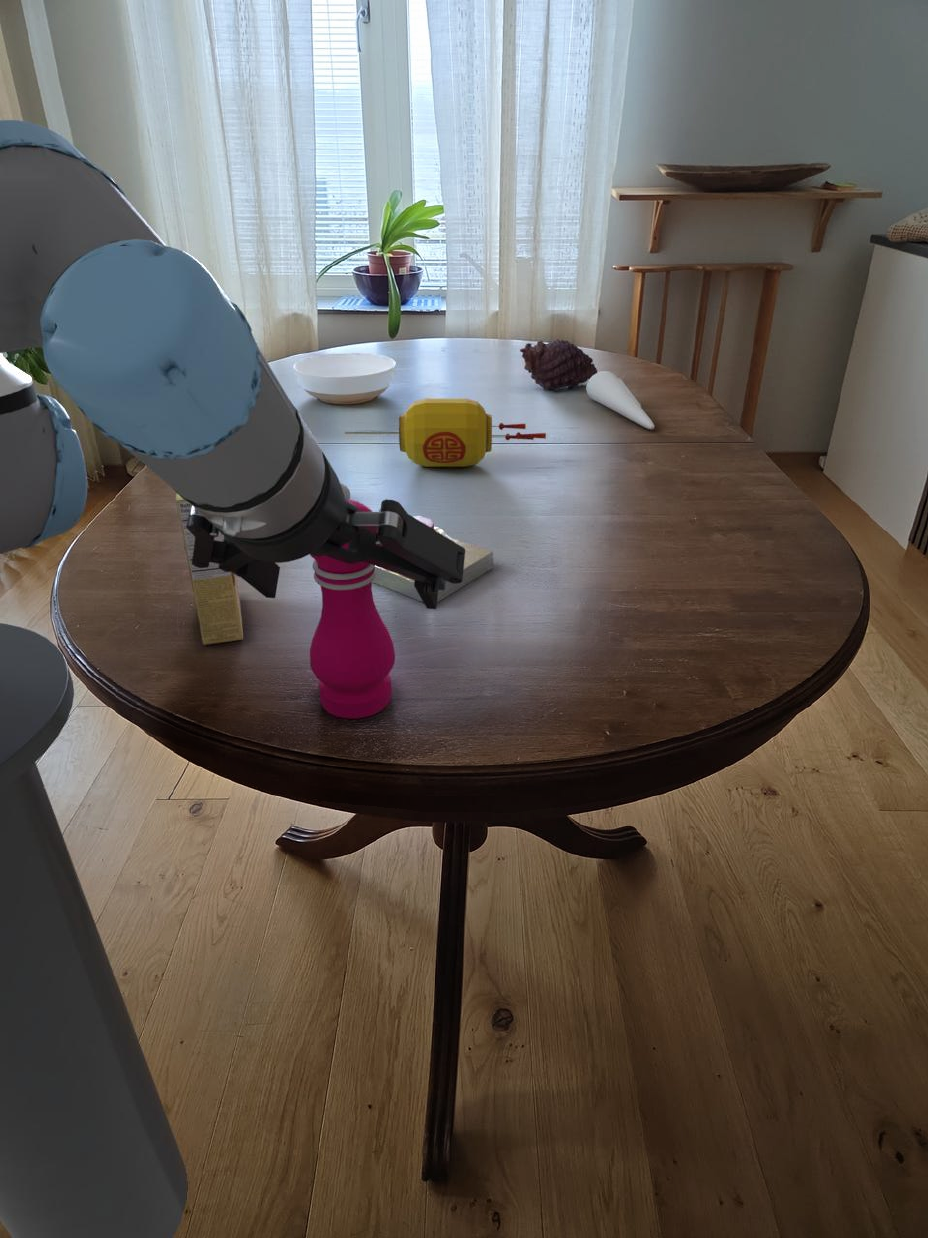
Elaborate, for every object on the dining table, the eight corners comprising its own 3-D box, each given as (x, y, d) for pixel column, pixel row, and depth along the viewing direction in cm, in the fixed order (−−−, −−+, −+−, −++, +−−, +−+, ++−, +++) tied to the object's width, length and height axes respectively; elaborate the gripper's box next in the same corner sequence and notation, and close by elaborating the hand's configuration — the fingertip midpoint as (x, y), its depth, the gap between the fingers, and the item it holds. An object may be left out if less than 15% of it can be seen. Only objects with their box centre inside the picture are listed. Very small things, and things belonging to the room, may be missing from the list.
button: (387, 541, 89) (386, 525, 87) (412, 529, 91) (412, 512, 90) (416, 552, 86) (416, 535, 85) (442, 538, 89) (441, 522, 88)
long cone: (618, 442, 134) (583, 399, 149) (652, 443, 136) (614, 401, 151) (626, 410, 131) (589, 370, 146) (661, 412, 132) (621, 371, 147)
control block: (338, 569, 91) (335, 537, 89) (402, 536, 98) (400, 506, 96) (432, 606, 83) (431, 572, 81) (492, 568, 91) (493, 536, 89)
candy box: (200, 603, 84) (173, 466, 76) (241, 598, 85) (218, 461, 77) (202, 647, 77) (172, 500, 69) (247, 640, 78) (222, 494, 70)
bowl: (371, 378, 164) (369, 348, 161) (415, 401, 150) (414, 368, 147) (282, 391, 156) (278, 360, 153) (319, 416, 141) (316, 382, 138)
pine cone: (579, 375, 167) (604, 338, 159) (590, 409, 162) (616, 373, 154) (505, 358, 159) (527, 319, 151) (515, 394, 154) (538, 355, 147)
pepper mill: (300, 715, 67) (271, 496, 57) (334, 668, 73) (313, 463, 63) (380, 729, 66) (364, 507, 55) (408, 681, 72) (399, 471, 61)
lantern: (545, 386, 118) (344, 386, 118) (550, 420, 111) (337, 420, 111) (540, 444, 125) (351, 444, 125) (545, 479, 118) (344, 479, 118)
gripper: (44, 531, 45) (201, 621, 66) (475, 556, 42) (498, 642, 63) (72, 412, 47) (216, 536, 67) (487, 429, 44) (506, 553, 64)
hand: (352, 587), depth 65 cm, fingers open, 13 cm apart
